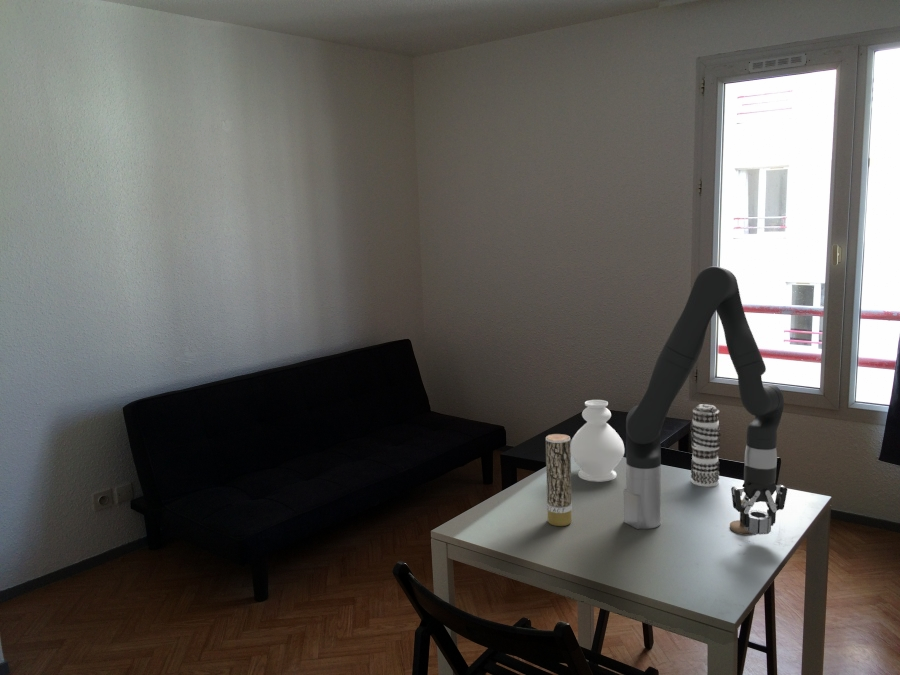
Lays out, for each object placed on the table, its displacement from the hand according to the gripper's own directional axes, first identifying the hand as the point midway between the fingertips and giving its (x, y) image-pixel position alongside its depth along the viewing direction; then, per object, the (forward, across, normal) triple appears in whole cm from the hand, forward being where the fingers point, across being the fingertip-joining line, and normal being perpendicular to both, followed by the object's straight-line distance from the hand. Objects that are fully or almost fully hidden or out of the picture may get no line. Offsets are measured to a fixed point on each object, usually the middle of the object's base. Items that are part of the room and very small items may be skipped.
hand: (757, 525), depth 188 cm
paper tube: (+6, +47, -21) cm, 52 cm away
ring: (+1, 0, 0) cm, 1 cm away
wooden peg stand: (+5, -1, -9) cm, 10 cm away
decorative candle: (+5, -5, -45) cm, 46 cm away
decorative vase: (+6, +27, -57) cm, 64 cm away
